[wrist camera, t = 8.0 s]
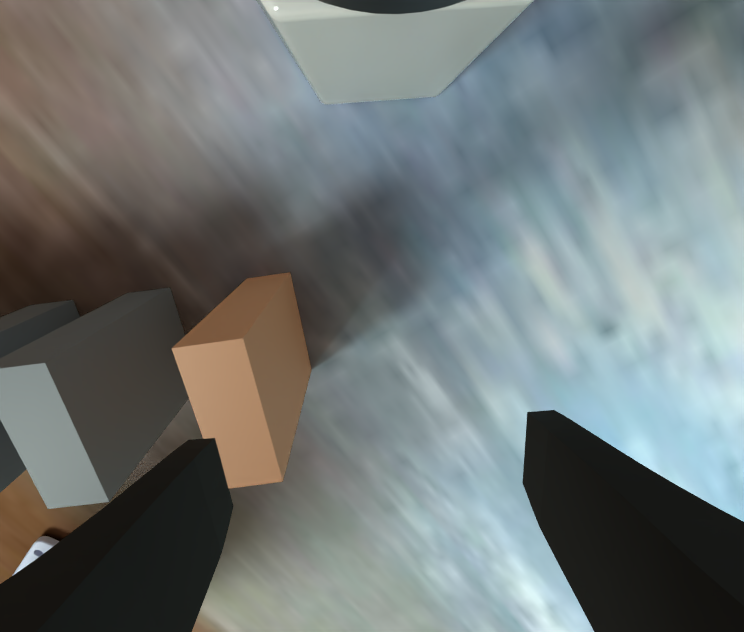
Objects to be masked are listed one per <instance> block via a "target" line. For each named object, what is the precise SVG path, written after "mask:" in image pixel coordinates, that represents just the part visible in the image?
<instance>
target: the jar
mask: <svg viewBox="0 0 744 632" xmlns="http://www.w3.org/2000/svg"><path fill="white" fill-rule="evenodd" d="M256 1H257V3H258V4H259V6H260V7H261V9H262V10H263V12H264V14H265V15H266V17H267V18H268V20H269V21H270V23H271V25H272V26H273V28H274V29H275V31H276V32H277V34H278V36H279V37H280V39H281V40H282V42H283V43H284V45H285V47H286V48H287V50H288V51H289V53H290V54H291V56H292V58H293V59H294V61H295V62H296V64H297V65H298V67H299V69H300V70H301V72H302V73H303V75H304V76H305V78H306V80H307V81H308V83H309V84H310V86H311V87H312V89H313V91H314V92H315V94H316V95H317V97H318V98H319V100H320V101H321V103H323V104H326V105H330V104H343V103H356V102H370V101H384V100H398V99H412V98H426V97H436V96H438V95H440V94H441V93H442V92H443V91H444V90H445V89H446V88H447V87H448V86H449V85H450V84H451V83H452V82H453V81H454V80H455V79H456V78H457V77H458V76H459V75H460V74H461V73H462V72H463V71H464V70H465V69H466V68H467V67H468V66H469V65H470V64H471V63H472V62H473V61H474V60H475V59H476V58H477V57H478V56H479V55H480V54H481V53H482V52H483V51H484V50H485V49H486V48H487V47H488V46H489V45H490V44H491V43H492V42H493V41H494V40H495V39H496V38H497V37H498V36H499V35H500V34H501V33H502V32H503V31H504V30H505V29H506V28H507V27H508V26H509V25H510V24H511V23H512V22H513V21H514V20H515V19H516V18H517V17H518V16H519V15H520V14H521V13H522V12H523V11H524V10H525V9H526V8H527V7H528V6H529V5H530V4H531V3H532V2H533V1H534V0H256Z"/></svg>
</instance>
